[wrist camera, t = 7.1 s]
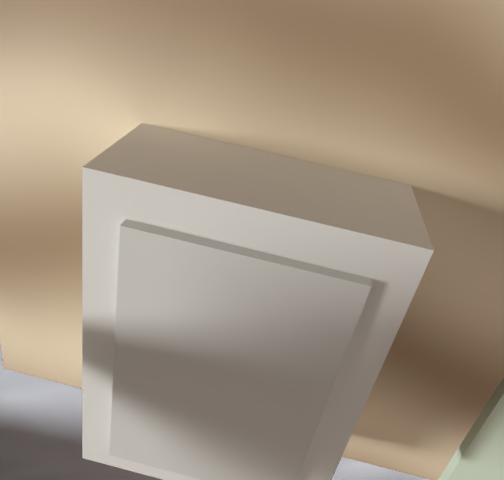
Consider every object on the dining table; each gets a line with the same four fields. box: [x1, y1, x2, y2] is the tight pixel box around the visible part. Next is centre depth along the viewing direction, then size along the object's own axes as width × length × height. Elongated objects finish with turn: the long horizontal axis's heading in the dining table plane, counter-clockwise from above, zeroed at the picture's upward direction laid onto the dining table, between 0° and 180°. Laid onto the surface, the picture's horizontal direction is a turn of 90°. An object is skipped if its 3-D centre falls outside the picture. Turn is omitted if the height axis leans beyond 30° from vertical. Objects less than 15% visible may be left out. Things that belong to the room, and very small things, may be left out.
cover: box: [82, 123, 434, 480], centre depth 11 cm, size 8×6×3 cm
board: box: [0, 0, 504, 480], centre depth 10 cm, size 22×14×2 cm, turn 170°
